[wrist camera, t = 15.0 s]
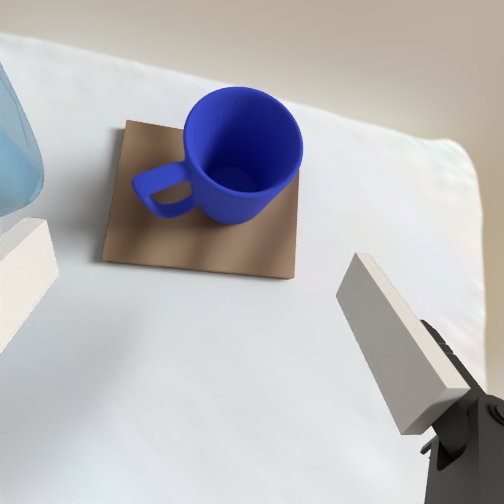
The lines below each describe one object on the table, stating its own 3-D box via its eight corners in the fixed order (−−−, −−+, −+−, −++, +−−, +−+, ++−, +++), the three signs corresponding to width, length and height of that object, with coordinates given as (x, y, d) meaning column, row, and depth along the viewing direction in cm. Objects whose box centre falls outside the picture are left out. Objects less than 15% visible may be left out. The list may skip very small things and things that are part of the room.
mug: (135, 187, 27) (101, 123, 18) (247, 146, 30) (271, 72, 20) (172, 265, 26) (157, 242, 17) (282, 215, 29) (324, 171, 20)
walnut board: (106, 261, 27) (101, 258, 25) (130, 128, 30) (126, 119, 28) (289, 279, 30) (294, 277, 28) (295, 157, 33) (300, 150, 31)
